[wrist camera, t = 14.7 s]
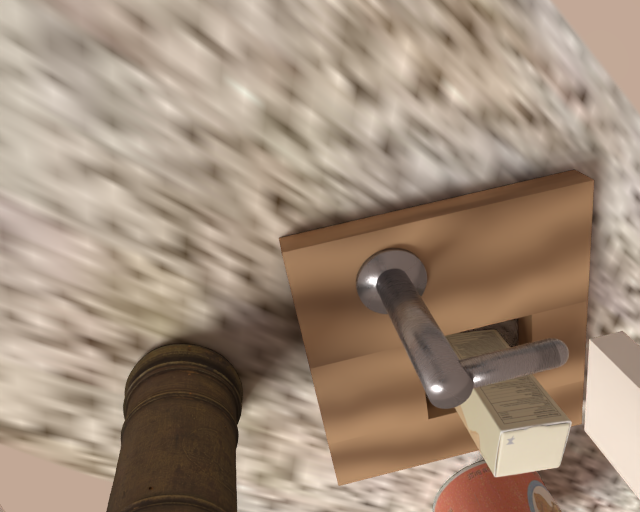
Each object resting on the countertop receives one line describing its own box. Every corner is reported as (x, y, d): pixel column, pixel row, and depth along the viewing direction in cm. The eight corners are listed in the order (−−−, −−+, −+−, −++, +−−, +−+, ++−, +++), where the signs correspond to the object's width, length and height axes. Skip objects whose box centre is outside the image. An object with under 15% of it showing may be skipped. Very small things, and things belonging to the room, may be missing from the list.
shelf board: (278, 238, 39) (281, 252, 37) (574, 169, 40) (593, 180, 38) (333, 464, 50) (338, 485, 48) (566, 405, 51) (581, 423, 49)
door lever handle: (350, 257, 38) (398, 364, 27) (480, 226, 38) (577, 320, 28) (361, 316, 40) (409, 437, 30) (483, 287, 41) (574, 395, 30)
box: (434, 375, 47) (489, 480, 37) (438, 333, 45) (497, 431, 35) (493, 369, 48) (562, 470, 38) (500, 327, 46) (574, 422, 36)
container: (147, 327, 41) (96, 550, 25) (260, 361, 44) (278, 580, 28) (110, 417, 44) (43, 666, 28) (218, 443, 47) (212, 683, 31)
